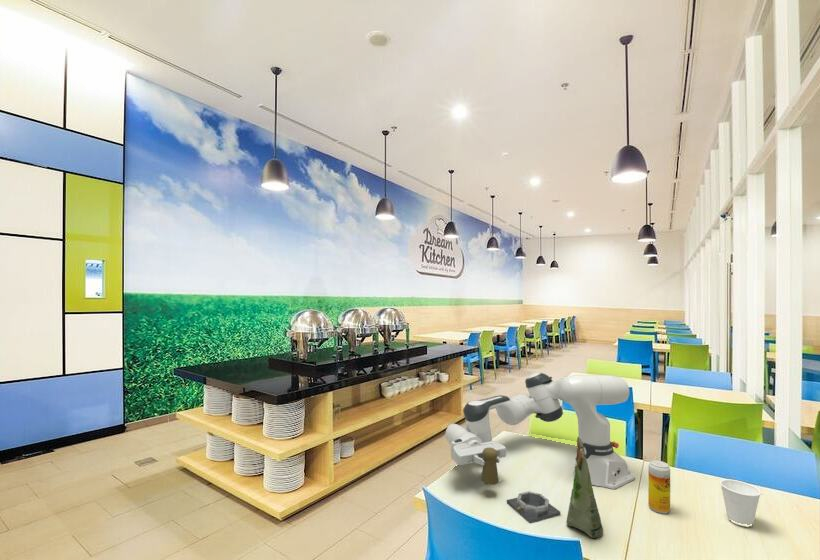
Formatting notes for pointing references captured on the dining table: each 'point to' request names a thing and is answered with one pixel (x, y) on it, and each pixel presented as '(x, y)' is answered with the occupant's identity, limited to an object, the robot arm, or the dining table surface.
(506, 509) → the dining table surface
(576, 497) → the pouch
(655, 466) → the pill bottle
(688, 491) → the dining table surface
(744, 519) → the cup
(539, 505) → the hub socket
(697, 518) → the dining table surface
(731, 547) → the dining table surface
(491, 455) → the cork
